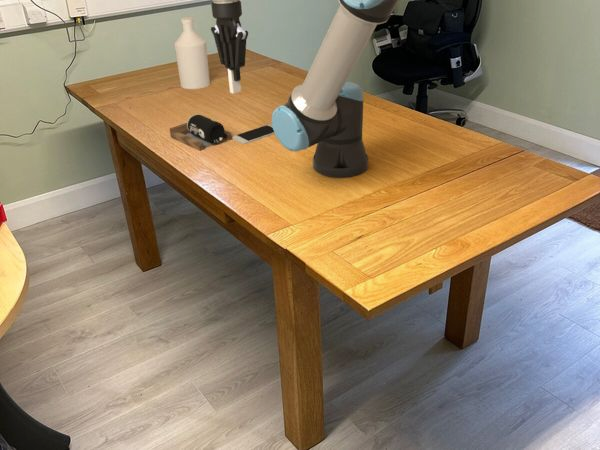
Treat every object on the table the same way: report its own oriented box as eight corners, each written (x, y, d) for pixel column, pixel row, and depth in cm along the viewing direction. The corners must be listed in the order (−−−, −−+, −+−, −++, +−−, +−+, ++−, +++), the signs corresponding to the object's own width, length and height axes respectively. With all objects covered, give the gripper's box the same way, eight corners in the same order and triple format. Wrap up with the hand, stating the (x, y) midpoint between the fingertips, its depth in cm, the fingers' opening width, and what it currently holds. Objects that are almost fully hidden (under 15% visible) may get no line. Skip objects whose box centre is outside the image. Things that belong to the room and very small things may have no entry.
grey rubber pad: (225, 139, 180) (225, 138, 180) (203, 148, 175) (202, 146, 175) (202, 130, 188) (202, 129, 187) (180, 137, 183) (180, 136, 182)
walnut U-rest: (231, 138, 180) (231, 129, 179) (200, 150, 173) (198, 141, 172) (202, 126, 190) (201, 117, 189) (171, 137, 183) (169, 128, 182)
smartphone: (230, 139, 182) (230, 136, 181) (270, 126, 190) (270, 123, 189) (243, 145, 177) (243, 142, 176) (283, 132, 185) (283, 129, 184)
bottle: (208, 88, 224) (200, 21, 212) (177, 89, 225) (167, 22, 212) (212, 79, 235) (205, 14, 222) (183, 80, 235) (174, 15, 222)
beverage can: (213, 119, 172) (191, 110, 180) (204, 139, 172) (182, 129, 180) (229, 127, 177) (206, 118, 185) (220, 147, 177) (198, 137, 185)
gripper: (253, 0, 146) (261, 93, 158) (222, -4, 154) (231, 84, 166) (229, 5, 141) (239, 100, 153) (198, 0, 150) (210, 91, 162)
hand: (235, 91), depth 160 cm, fingers closed
